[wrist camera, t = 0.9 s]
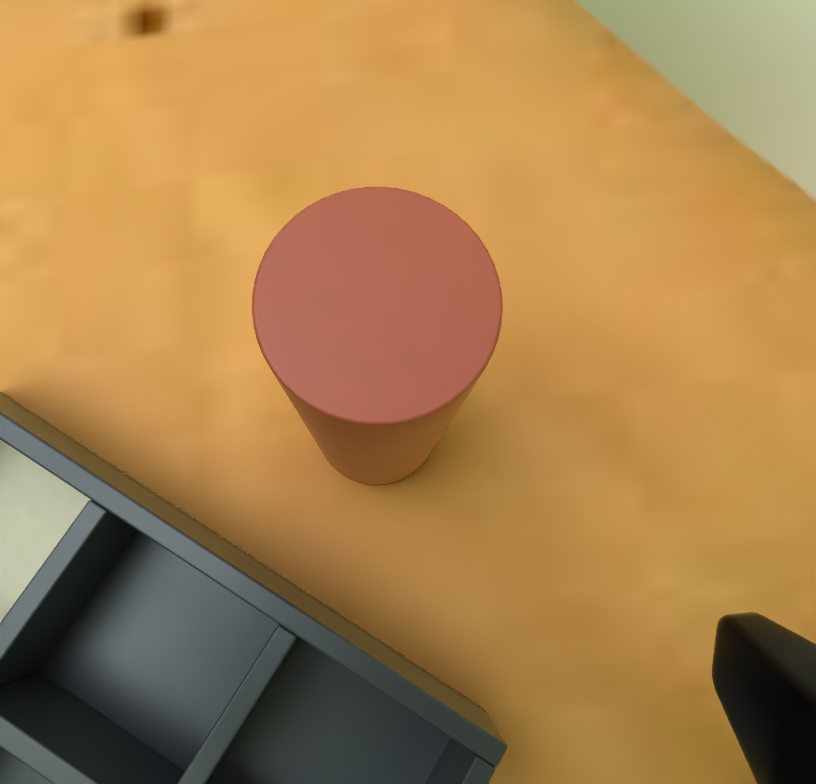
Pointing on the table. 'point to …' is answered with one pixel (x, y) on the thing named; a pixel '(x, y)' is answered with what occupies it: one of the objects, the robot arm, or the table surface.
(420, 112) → the table surface
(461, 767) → the grid
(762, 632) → the robot arm
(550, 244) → the table surface
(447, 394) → the reddish brown cylinder
